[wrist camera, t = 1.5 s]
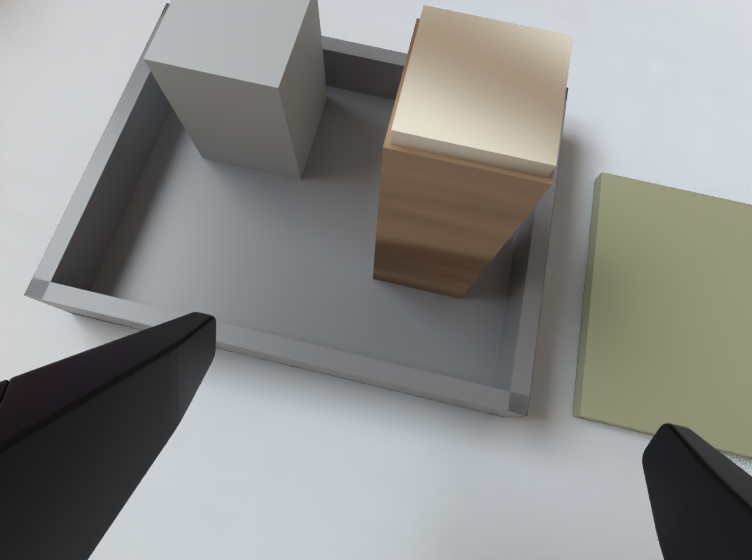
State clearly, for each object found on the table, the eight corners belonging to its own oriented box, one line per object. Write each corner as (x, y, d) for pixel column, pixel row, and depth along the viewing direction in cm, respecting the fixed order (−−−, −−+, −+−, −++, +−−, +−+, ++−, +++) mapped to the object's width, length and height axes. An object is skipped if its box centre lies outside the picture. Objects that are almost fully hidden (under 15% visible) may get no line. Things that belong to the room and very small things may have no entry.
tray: (503, 417, 22) (527, 415, 19) (70, 312, 22) (24, 295, 19) (544, 126, 27) (568, 87, 23) (188, 50, 27) (166, 3, 24)
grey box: (300, 179, 24) (278, 88, 18) (202, 157, 25) (143, 58, 18) (327, 96, 26) (315, -16, 19) (234, 76, 26) (191, -42, 20)
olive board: (784, 466, 21) (800, 468, 21) (572, 415, 22) (580, 415, 21) (774, 219, 25) (788, 212, 24) (595, 179, 26) (602, 172, 25)
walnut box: (460, 299, 23) (561, 172, 11) (372, 278, 23) (384, 133, 11) (475, 218, 24) (578, 32, 13) (392, 200, 24) (419, 0, 13)
